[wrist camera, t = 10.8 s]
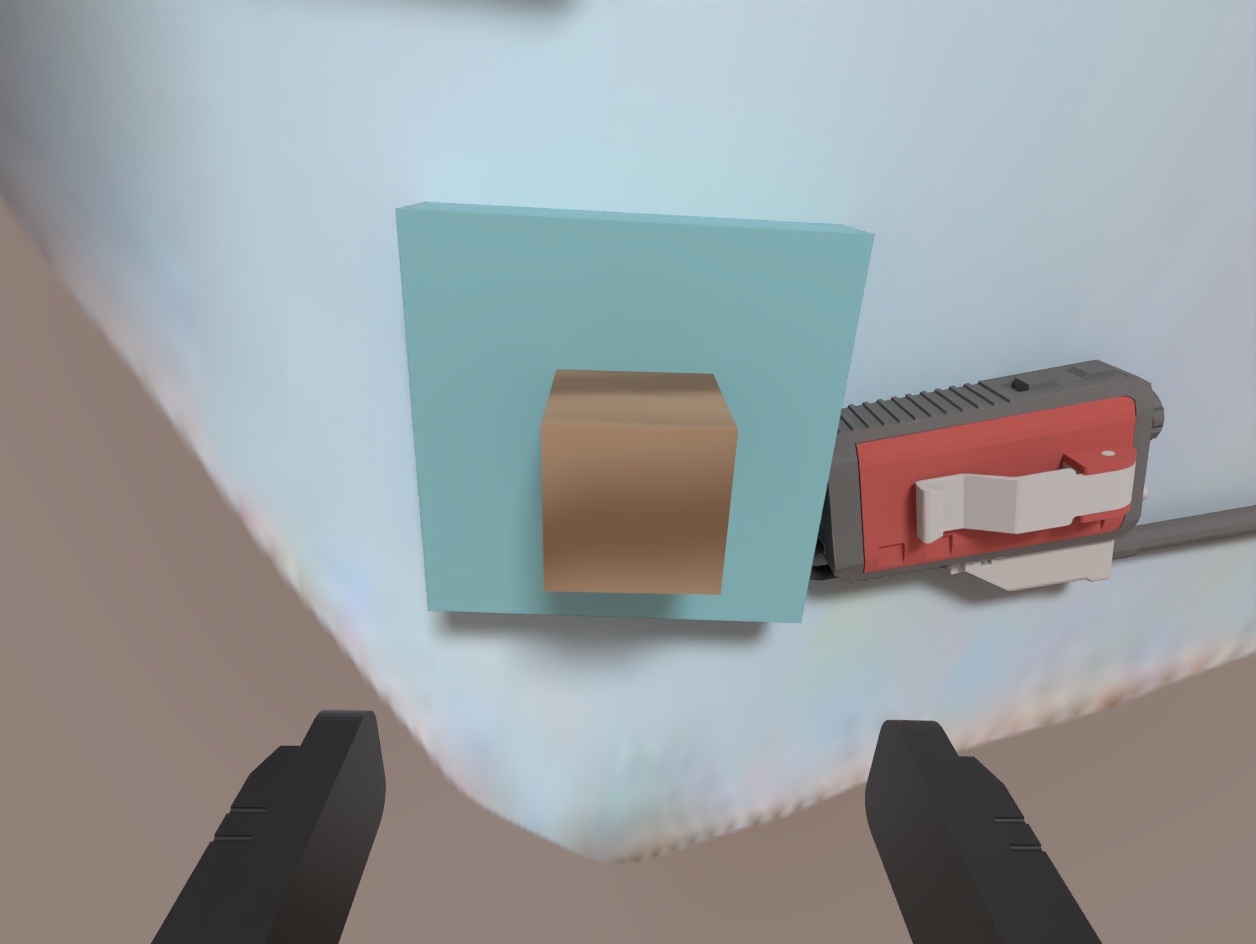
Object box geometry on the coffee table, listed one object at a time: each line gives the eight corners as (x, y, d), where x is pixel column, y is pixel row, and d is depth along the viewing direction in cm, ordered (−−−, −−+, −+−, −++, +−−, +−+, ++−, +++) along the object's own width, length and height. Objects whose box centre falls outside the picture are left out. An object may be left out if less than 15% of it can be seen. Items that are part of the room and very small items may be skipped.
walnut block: (556, 369, 22) (540, 424, 17) (713, 373, 22) (738, 430, 18) (557, 508, 24) (543, 591, 19) (700, 512, 24) (720, 595, 20)
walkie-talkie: (793, 597, 30) (1269, 518, 29) (820, 664, 26) (1375, 576, 25) (772, 410, 27) (1313, 310, 25) (799, 454, 23) (1445, 338, 21)
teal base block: (429, 200, 24) (395, 208, 20) (835, 222, 24) (874, 234, 20) (451, 554, 29) (428, 610, 26) (778, 566, 30) (801, 623, 26)
